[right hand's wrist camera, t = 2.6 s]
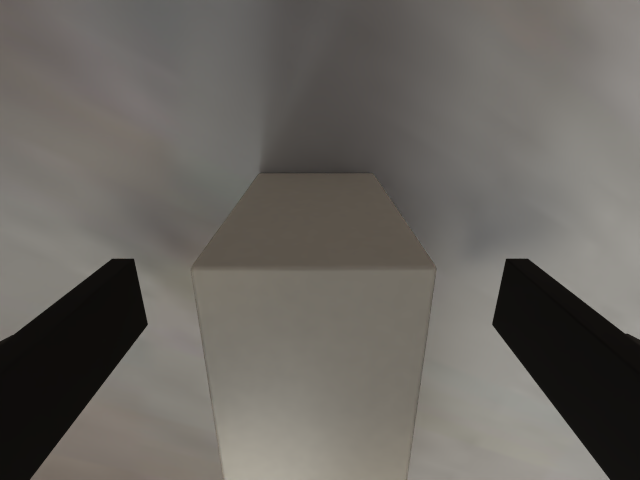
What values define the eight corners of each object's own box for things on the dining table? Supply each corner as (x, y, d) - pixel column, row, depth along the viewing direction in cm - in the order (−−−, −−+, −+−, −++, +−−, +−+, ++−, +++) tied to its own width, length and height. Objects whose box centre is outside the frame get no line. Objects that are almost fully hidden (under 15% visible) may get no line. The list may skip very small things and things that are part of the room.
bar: (258, 172, 15) (188, 267, 7) (373, 172, 15) (438, 267, 7) (281, 522, 25) (263, 740, 16) (353, 521, 25) (371, 738, 16)
